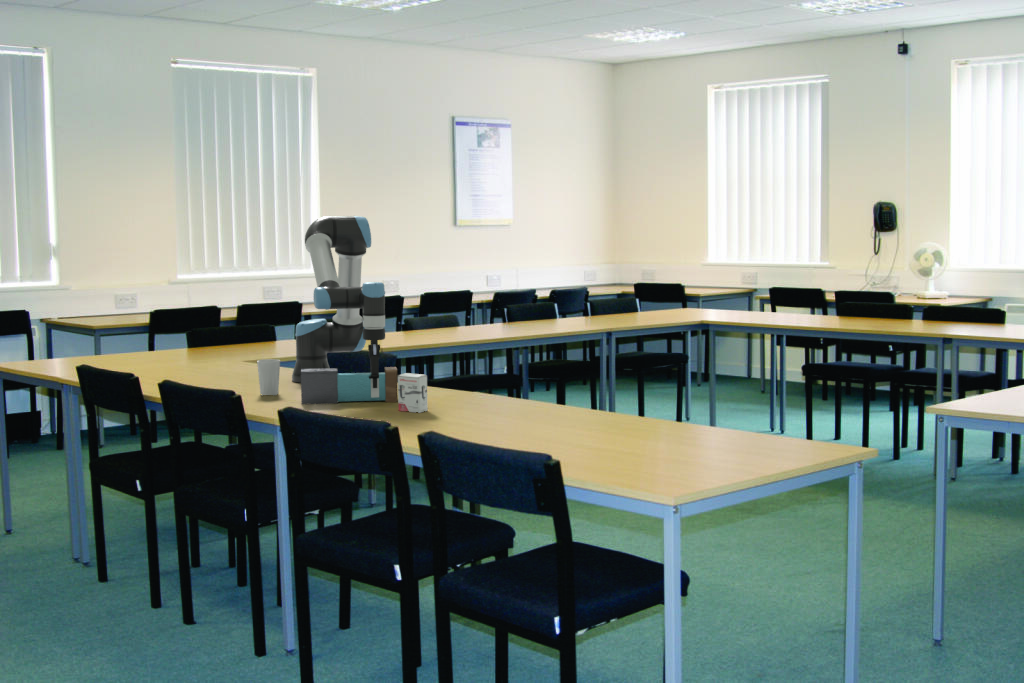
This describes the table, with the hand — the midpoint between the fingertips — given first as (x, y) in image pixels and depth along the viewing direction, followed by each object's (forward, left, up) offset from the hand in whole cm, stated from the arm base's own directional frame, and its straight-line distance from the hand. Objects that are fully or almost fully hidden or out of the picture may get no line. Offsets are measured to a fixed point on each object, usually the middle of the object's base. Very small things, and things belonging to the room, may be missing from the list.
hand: (374, 396), depth 371 cm
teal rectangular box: (0, -4, -2) cm, 5 cm away
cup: (-20, -36, -2) cm, 42 cm away
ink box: (+22, +12, -2) cm, 25 cm away
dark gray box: (0, -18, -2) cm, 19 cm away
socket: (0, +6, -2) cm, 6 cm away
